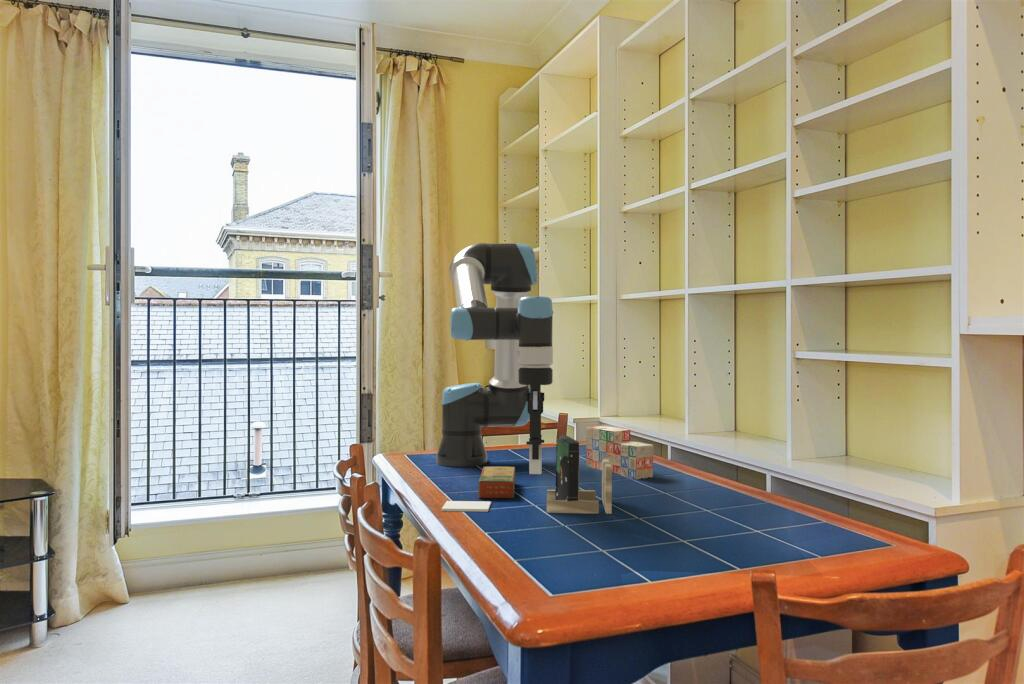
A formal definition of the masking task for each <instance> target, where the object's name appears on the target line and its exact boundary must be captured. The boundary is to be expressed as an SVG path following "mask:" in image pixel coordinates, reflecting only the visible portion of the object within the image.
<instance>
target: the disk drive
mask: <svg viewBox="0 0 1024 684" xmlns="http://www.w3.org/2000/svg"><path fill="white" fill-rule="evenodd" d="M555 446H556V449H555V450H556V451H555V453H556V454H555V455H556V458H555V490H556V495H555V496H556V500H567V501H578V500H579V490H580V466H581V465H580V464H581V463H580V461H581V459H580V458H581V451H580V442H579V441H578V440H576V439H574V438H572V437H570V436H568V435H566V434H565V435H556V444H555Z"/></svg>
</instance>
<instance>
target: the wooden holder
mask: <svg viewBox="0 0 1024 684" xmlns="http://www.w3.org/2000/svg"><path fill="white" fill-rule="evenodd" d="M612 475H613V473H612V466H611V464H610V462H609V460H608V458H607V457H602V470H601V501H602V505H603V509H604V512H605V514H606V515H607V514H609V515H610V514H611V515H612V514H613V513H612V511H613V510H612V509H613V506H612V503H613V500H612V499H613V495H612V492H613V489H612V487H613V483H612V481H613V480H612V479H613V478H612V477H613V476H612ZM555 495H556V489H546V513H547V514H599V513H600V509H599V508H600V504H599V503H600V502H599V500H596V499H597V496H596V495H597V492H596V490H594V489H579V500H578V501H567V500H556V496H555Z"/></svg>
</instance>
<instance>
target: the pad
mask: <svg viewBox="0 0 1024 684" xmlns="http://www.w3.org/2000/svg"><path fill="white" fill-rule="evenodd" d="M491 505H492V501H489V500H487V501H483V500H482V501H478V500H477V501H475V500H471V501H469V500H446V502H445V503H444V504H443V506H442V507H441V512H472V513H473V512H477V513H478V512H483V513H486V512H487V513H488V512H489V511H490V507H491Z"/></svg>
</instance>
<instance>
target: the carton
mask: <svg viewBox="0 0 1024 684" xmlns="http://www.w3.org/2000/svg"><path fill="white" fill-rule="evenodd" d="M515 484H516V467H515V466H483V467H482V470H481V473H480V477H479V479H478V492H477V495H478V497H477V498H478V499H514V498H515V487H516V486H515Z"/></svg>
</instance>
